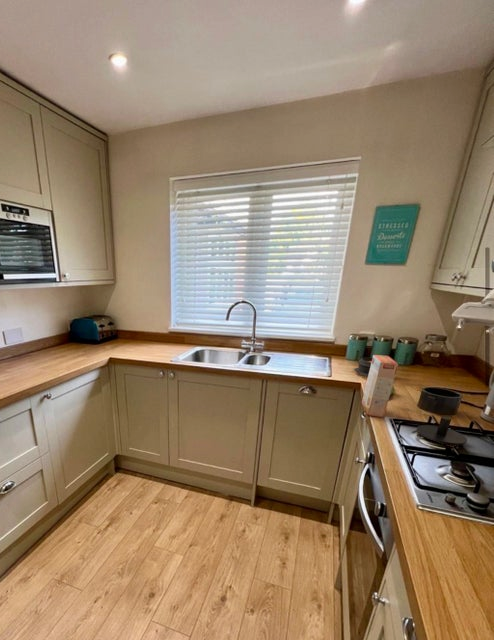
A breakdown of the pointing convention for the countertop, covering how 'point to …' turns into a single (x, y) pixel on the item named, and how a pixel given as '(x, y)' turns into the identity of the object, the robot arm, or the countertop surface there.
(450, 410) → the pot
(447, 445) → the plate
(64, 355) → the countertop surface
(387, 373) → the cracker box
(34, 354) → the countertop surface
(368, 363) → the dark grey rounded piece
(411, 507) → the countertop surface
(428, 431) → the lid
